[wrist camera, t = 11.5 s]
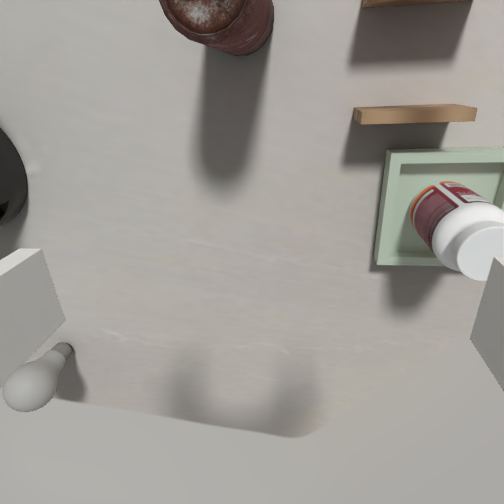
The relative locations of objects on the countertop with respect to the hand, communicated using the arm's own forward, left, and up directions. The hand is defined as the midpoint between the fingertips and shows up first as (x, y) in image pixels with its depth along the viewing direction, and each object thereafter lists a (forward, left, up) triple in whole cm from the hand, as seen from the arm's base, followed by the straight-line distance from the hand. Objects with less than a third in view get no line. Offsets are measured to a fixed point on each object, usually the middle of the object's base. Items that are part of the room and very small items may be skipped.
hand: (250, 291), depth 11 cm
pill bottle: (+16, -7, -28) cm, 33 cm away
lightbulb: (-33, -29, -29) cm, 53 cm away
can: (-4, +11, -29) cm, 31 cm away
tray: (+16, -7, -29) cm, 34 cm away
